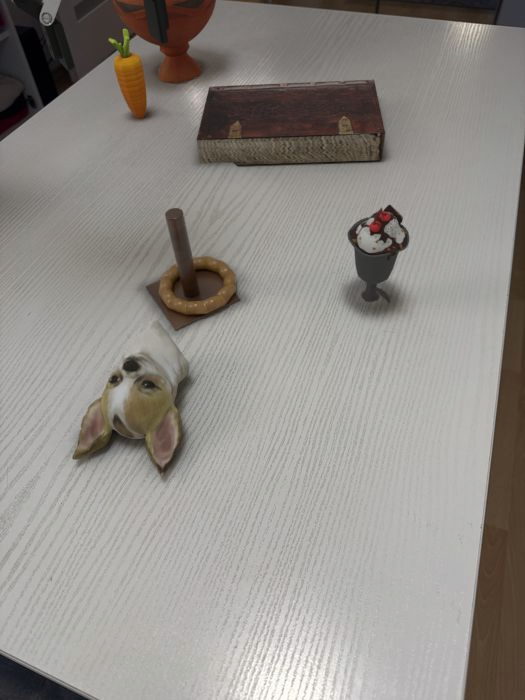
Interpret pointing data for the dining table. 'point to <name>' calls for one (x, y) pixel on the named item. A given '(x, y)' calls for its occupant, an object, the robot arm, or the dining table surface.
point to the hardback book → (292, 123)
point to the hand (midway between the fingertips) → (114, 51)
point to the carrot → (130, 77)
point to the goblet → (171, 33)
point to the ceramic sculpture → (140, 399)
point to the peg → (187, 276)
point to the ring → (204, 305)
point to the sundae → (377, 248)
